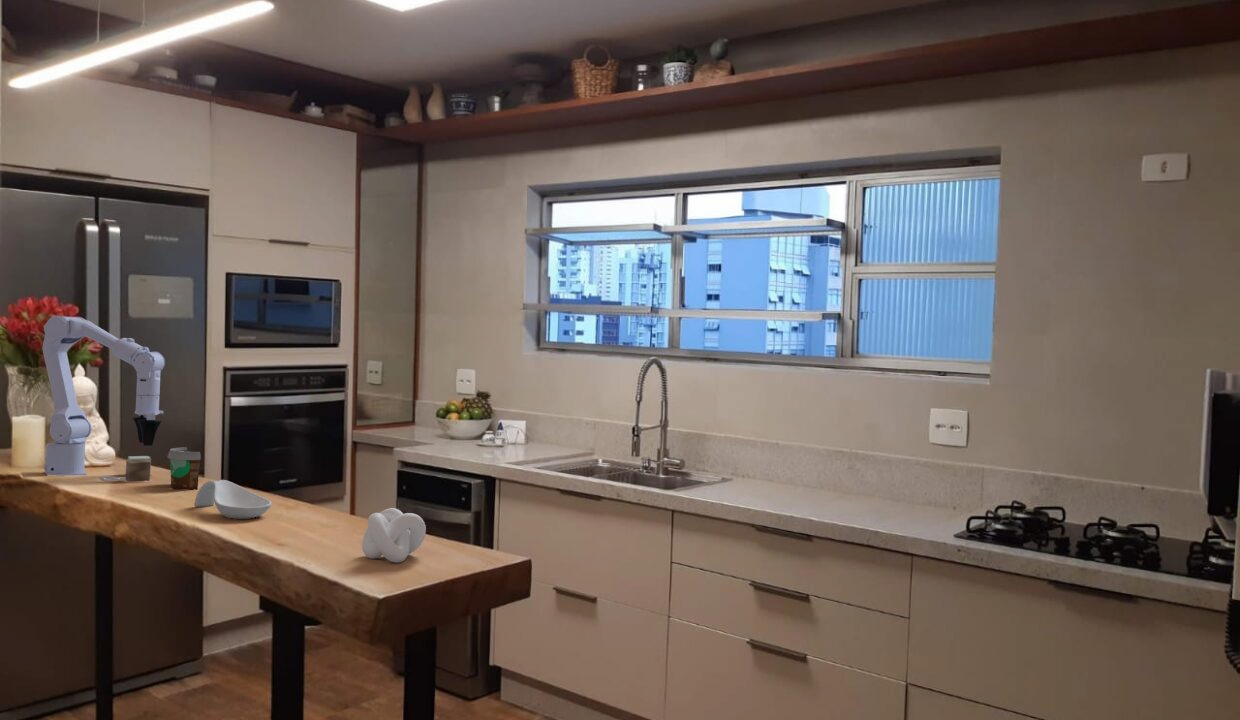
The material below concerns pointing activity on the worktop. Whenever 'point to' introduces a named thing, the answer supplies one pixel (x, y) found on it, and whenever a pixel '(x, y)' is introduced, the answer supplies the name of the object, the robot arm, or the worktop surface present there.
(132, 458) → the sage block
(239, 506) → the spoon rest
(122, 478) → the tile
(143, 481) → the coaster
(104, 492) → the worktop surface
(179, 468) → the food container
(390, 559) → the grey knot sculpture
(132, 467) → the walnut block
